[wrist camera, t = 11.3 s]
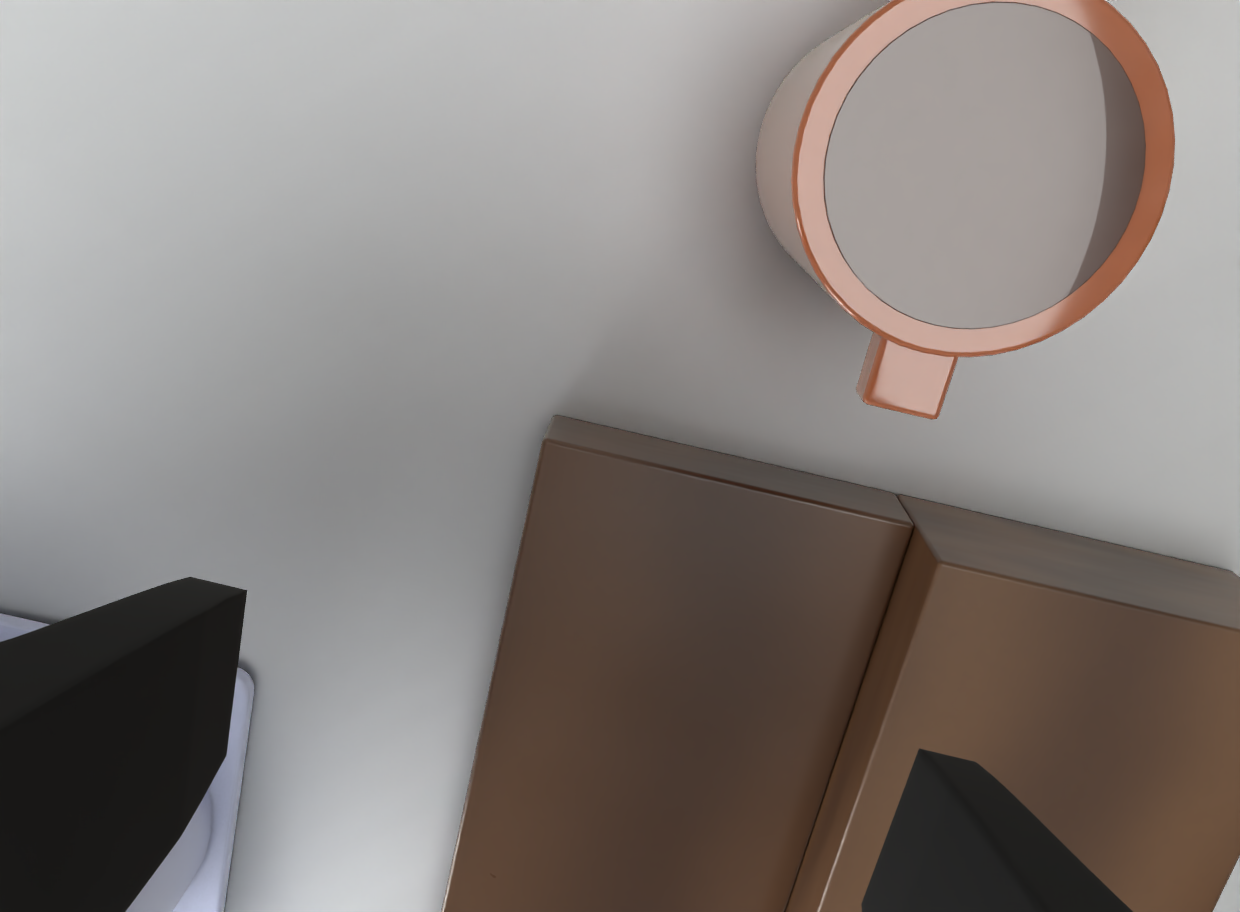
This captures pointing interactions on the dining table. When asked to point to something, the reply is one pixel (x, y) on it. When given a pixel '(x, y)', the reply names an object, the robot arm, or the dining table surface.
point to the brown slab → (828, 690)
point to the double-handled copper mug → (967, 177)
